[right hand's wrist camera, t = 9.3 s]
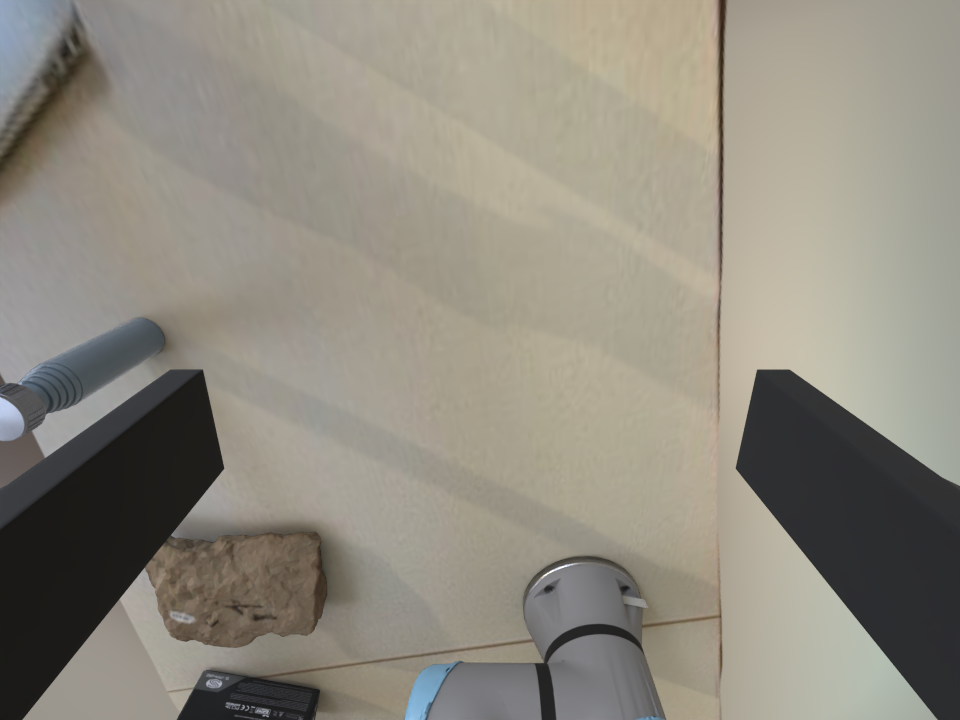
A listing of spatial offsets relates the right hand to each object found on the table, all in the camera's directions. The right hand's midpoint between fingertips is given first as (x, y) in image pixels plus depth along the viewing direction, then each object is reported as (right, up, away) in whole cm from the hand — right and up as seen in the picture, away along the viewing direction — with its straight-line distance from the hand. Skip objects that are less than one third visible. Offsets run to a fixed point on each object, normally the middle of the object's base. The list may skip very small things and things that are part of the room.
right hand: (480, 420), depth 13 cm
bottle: (-36, +4, +42) cm, 55 cm away
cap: (-36, -3, +26) cm, 44 cm away
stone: (-30, -25, +54) cm, 66 cm away
